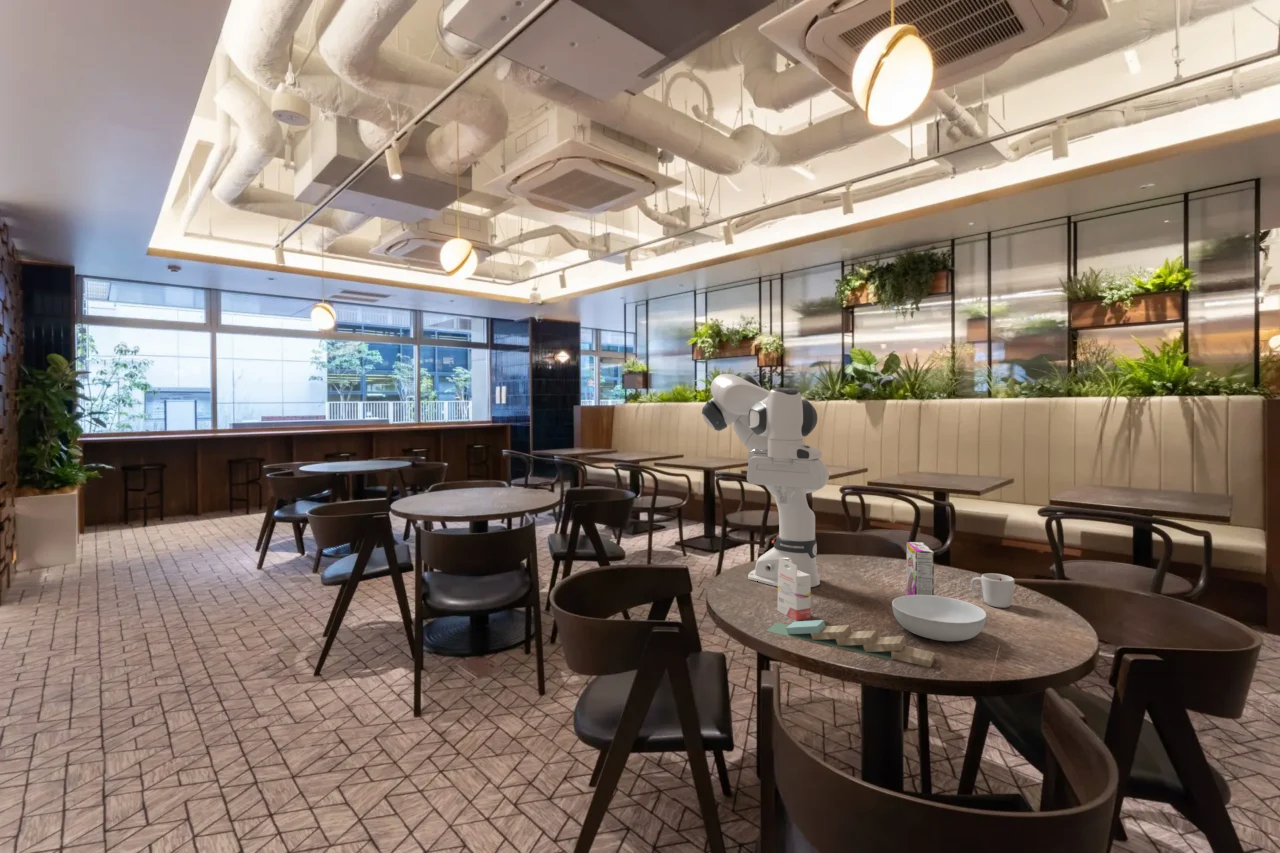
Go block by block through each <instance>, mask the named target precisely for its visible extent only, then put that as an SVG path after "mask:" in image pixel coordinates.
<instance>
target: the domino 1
mask: <svg viewBox="0 0 1280 853" xmlns="http://www.w3.org/2000/svg"><path fill="white" fill-rule="evenodd" d="M788 625H789V626H788V627H787V628H786V629H787V633H788V634H805V633H819V632H820V631H821V630H822V629H823V628H824V627H825V626H826V622H825V619H815V620H795V621H793V622H791V623H790V624H788Z"/></svg>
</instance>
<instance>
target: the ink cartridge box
mask: <svg viewBox="0 0 1280 853" xmlns="http://www.w3.org/2000/svg"><path fill="white" fill-rule="evenodd" d="M785 565H788V566H789V567H791V568H785ZM811 588H812V587H811V575H809V574H806V573H804V572H801V571H799V570H797V565H795V564H792V563H790V562H788V561H785V560H782V559H779V566H778V587H777V612H780V613H782V614H783V615H785V616H788V617H790V618H791V619H793V620H795V621H803V620H807V619H811V618H812V616H811V614H812V613H811V608H812V607H811V606H812V604H811V601H812V600H811V599H812V597H811Z"/></svg>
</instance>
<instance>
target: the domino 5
mask: <svg viewBox="0 0 1280 853" xmlns="http://www.w3.org/2000/svg"><path fill="white" fill-rule="evenodd" d="M935 656H936V652H933V651H929V650H926V649H920V648H916V647H913V646H907V645H906V644H905V645H904V647H903V649H902V650H901V651H891V658H893V659H894V660H898V661H902V662H904V663H905V662H906V663H910V664H915V665H919V666H923V667H927V668H931V667H932V665H933V663H934V661H935Z"/></svg>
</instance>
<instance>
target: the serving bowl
mask: <svg viewBox="0 0 1280 853" xmlns="http://www.w3.org/2000/svg"><path fill="white" fill-rule="evenodd" d="M906 595H907V594H906ZM906 595H903V596H898V597H896V598H894V599H893V600H892V601H891V607H892V612H893V615H894V618H895V619H896V620H897V622H898V623H899V625H900V626H901V627H903V628H904V629H905V630H906V631H908V632H910V633H911V634H913V635H916V636H919V637H923V638H926V639H928V640H929V639H930V640H934V641H940V642H960V641H961V642H962V641H966V640H967V641H968V640H970V639H972V638H973V639H974V638H975V637H976V636H978V634H980V633H981V632H982V630H984V627H985V625H986V622H987V612H986V611H985V610H984V609H983V608H981V607H980V606H977V605H975V604H973V603H970V602H968V601H965V600H961V599H958V598H953V597H948V596H940V595H934V596H933V595H907V596H906Z"/></svg>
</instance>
